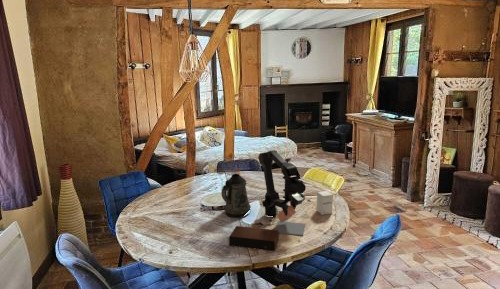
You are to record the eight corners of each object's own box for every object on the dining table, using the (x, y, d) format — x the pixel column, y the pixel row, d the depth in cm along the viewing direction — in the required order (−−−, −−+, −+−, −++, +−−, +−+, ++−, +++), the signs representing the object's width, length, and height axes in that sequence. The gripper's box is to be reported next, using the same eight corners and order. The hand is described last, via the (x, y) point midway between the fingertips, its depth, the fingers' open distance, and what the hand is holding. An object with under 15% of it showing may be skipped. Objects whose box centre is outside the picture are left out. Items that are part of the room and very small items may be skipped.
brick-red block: (276, 214, 193) (285, 207, 186) (282, 212, 196) (291, 204, 189) (280, 222, 191) (289, 215, 184) (287, 220, 194) (296, 212, 187)
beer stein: (253, 208, 217) (253, 171, 211) (245, 221, 198) (244, 181, 193) (229, 206, 221) (228, 169, 216) (219, 218, 203) (217, 179, 197)
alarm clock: (278, 240, 177) (278, 230, 175) (274, 252, 166) (274, 241, 164) (235, 235, 182) (235, 225, 181) (229, 246, 171) (229, 236, 170)
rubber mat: (273, 232, 184) (273, 231, 184) (277, 221, 197) (277, 220, 197) (302, 235, 180) (302, 234, 180) (305, 224, 194) (305, 223, 193)
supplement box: (321, 215, 206) (322, 195, 203) (316, 210, 213) (316, 191, 210) (332, 213, 208) (333, 194, 205) (326, 209, 215) (327, 190, 212)
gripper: (288, 196, 173) (287, 224, 176) (312, 187, 184) (311, 214, 188) (273, 190, 181) (273, 217, 185) (297, 182, 193) (296, 208, 196)
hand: (289, 214), depth 188 cm, fingers closed on brick-red block, 5 cm apart
